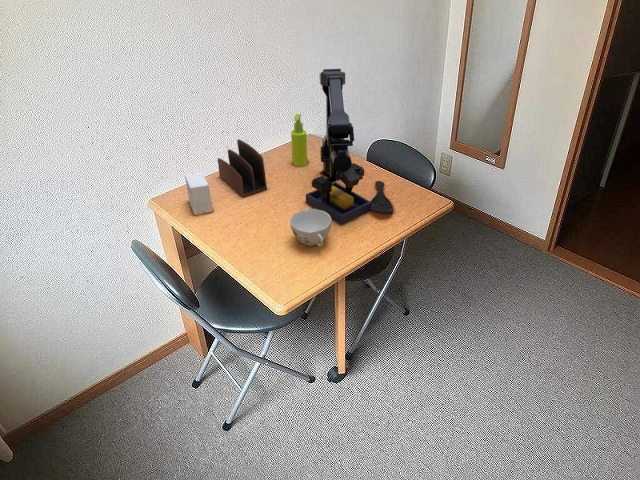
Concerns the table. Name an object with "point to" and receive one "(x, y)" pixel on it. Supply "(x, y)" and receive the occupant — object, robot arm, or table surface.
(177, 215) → the table surface
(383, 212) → the hairbrush
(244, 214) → the table surface
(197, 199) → the cosmetics box
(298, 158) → the soap dispenser
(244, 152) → the letter holder
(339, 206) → the duster
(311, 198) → the blue tray
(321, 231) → the teacup
